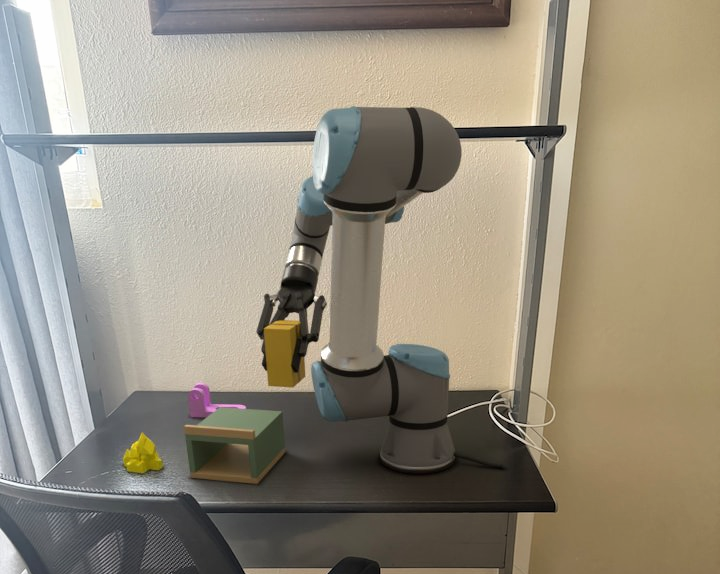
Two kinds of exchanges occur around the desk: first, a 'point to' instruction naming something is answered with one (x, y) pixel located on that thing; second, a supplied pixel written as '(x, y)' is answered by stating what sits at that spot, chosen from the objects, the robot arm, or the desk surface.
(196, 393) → the bracket
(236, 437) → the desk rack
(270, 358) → the package
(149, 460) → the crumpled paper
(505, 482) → the desk surface
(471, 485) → the desk surface
